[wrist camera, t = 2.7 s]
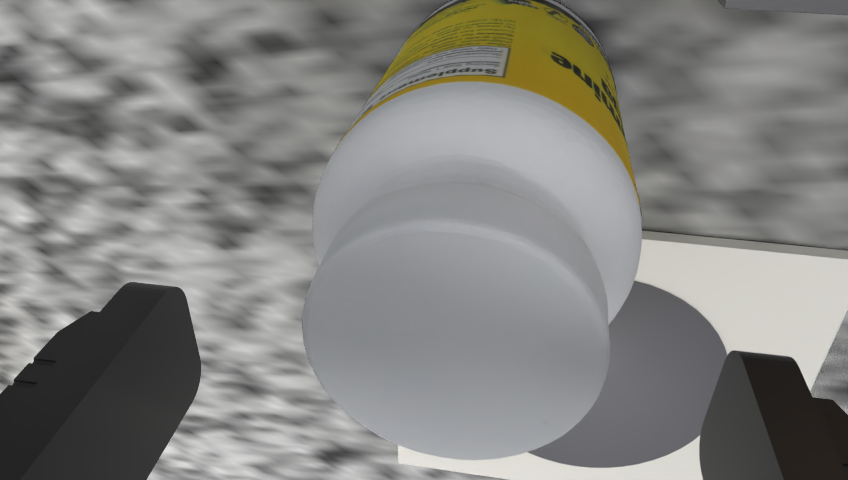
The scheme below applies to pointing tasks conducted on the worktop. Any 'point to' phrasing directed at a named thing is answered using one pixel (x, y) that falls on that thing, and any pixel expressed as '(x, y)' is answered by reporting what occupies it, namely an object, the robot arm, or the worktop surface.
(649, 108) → the worktop surface
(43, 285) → the worktop surface
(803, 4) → the button housing
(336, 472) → the worktop surface
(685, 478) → the white square coaster
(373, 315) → the pill bottle
